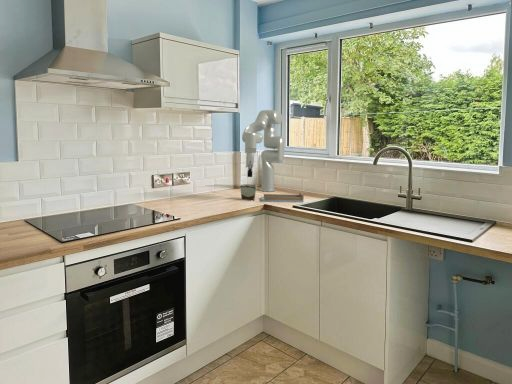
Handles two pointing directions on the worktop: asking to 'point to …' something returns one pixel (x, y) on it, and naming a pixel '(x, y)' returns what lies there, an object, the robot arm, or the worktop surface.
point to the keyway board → (282, 198)
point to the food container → (248, 191)
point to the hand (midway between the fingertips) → (249, 176)
